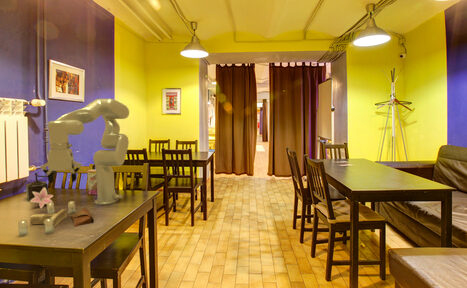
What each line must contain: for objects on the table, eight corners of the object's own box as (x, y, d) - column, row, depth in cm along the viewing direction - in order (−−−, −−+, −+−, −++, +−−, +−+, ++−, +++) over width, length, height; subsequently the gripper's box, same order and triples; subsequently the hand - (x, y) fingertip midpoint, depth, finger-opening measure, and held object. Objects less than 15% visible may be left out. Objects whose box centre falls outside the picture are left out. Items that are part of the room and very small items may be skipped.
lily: (26, 212, 146) (32, 198, 144) (26, 199, 155) (32, 186, 153) (51, 213, 154) (57, 200, 153) (50, 201, 163) (56, 188, 161)
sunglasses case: (68, 216, 136) (75, 204, 138) (82, 220, 140) (89, 208, 142) (73, 227, 122) (81, 213, 124) (89, 231, 126) (96, 217, 128)
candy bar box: (87, 195, 176) (86, 170, 175) (92, 193, 181) (91, 169, 180) (104, 195, 175) (102, 170, 174) (108, 193, 180) (106, 169, 179)
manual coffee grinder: (28, 202, 162) (26, 172, 160) (26, 198, 170) (24, 170, 168) (58, 196, 172) (56, 169, 171) (55, 193, 180) (53, 167, 179)
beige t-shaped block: (66, 208, 136) (40, 209, 134) (52, 220, 121) (22, 221, 118) (67, 216, 137) (40, 217, 134) (52, 228, 121) (22, 229, 119)
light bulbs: (76, 211, 143) (75, 200, 143) (51, 233, 115) (50, 220, 114) (49, 213, 140) (48, 202, 140) (17, 236, 112) (16, 223, 112)
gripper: (82, 145, 131) (85, 178, 133) (43, 146, 128) (46, 181, 130) (76, 147, 124) (79, 182, 126) (35, 148, 121) (38, 185, 123)
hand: (62, 181), depth 128 cm, fingers open, 9 cm apart
